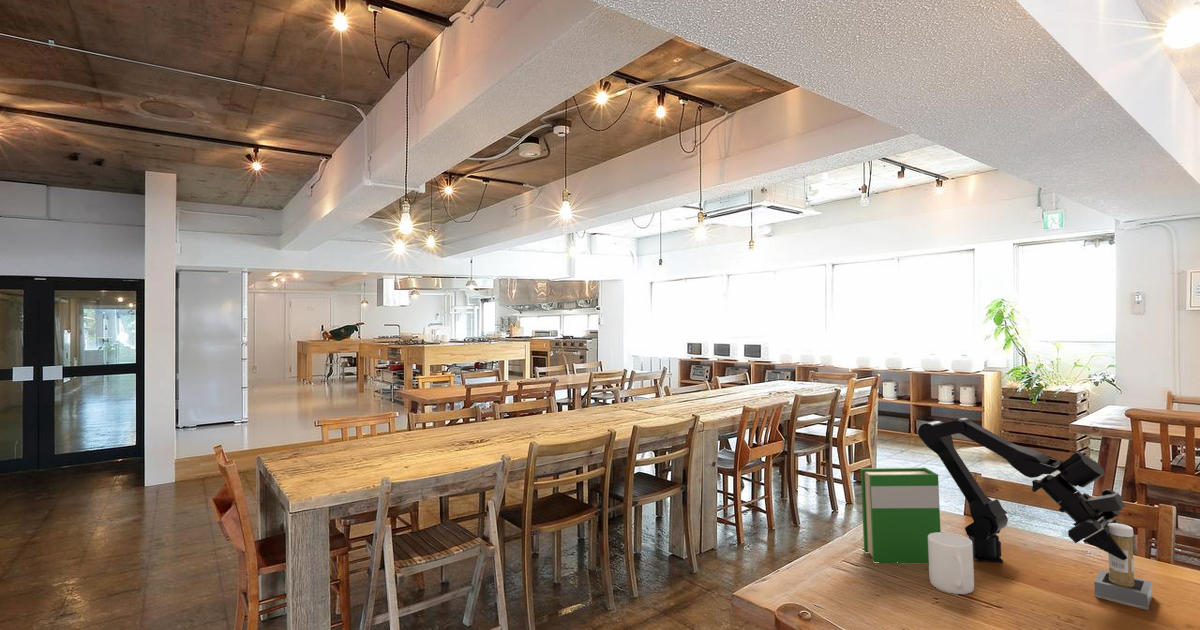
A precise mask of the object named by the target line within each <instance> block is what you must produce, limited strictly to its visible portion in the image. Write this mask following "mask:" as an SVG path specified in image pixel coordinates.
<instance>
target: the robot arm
mask: <svg viewBox="0 0 1200 630" xmlns="http://www.w3.org/2000/svg"><path fill="white" fill-rule="evenodd" d="M958 434H960V435H962V436H964V437H966V438H968V439H969V440H971V441H973V442H975V443H976V444H978V445H980V446H982V447H984V448H985V449H988V450H989V451H991V452H992V453H994V454H996V455H998V456H1000V457H1001V458H1003V459H1005V460H1006V461H1007V462H1008V464H1009V465H1010V466H1011V467H1012V468H1013V469H1015V470H1016V471H1017V472H1019V473H1021V474H1022V475H1023V476H1024V477H1027V478H1031V479H1033V478H1038V477H1040V476H1042V475H1046V476H1044V477H1042V478H1041V479H1034V480H1031V485H1032V487H1031V488H1032V489H1031V491H1032V493H1036V492H1038V491H1039V490H1042V491H1044V493H1045V494H1047V495H1048V497H1049V498H1050V499H1051V500H1053V501H1054V502H1055V503H1056V504H1057V505H1058V507H1059V508H1058V510H1059V512H1061V513H1064V512H1065V513H1066V515H1068V516H1069V517H1070V518H1071V520H1073V521H1074V523H1073V526H1072V527H1071V528H1070V529H1068V532H1067V533H1068V534H1067V536H1068V538H1069V539H1070V540H1072V541H1073V543H1075V544H1076V543H1079V542H1081V541H1082V542H1083V543H1087V544H1088V545H1091V546H1093V547H1095V548H1098V549H1099V550H1102V551H1104V552H1105V553H1110V554H1112V555H1114V556H1116V557H1118V558H1120V559H1122V560H1125V559H1127V556H1126V555H1125V554H1124V552H1123V551H1122V550H1121V549H1120V547H1119V546H1118V545H1117V544H1116V543H1115V541H1114V540H1113V539H1112V538H1111V537H1110V535H1109V526H1107V524H1109V523H1118V524H1119V522H1120V521H1119V520H1120V519H1119V517H1118V516H1119V515H1122V512H1121V510H1123V508H1126V504H1125V503H1124V501H1123V495H1120V494H1119V492H1115V491H1114V489H1112V488H1108V489H1104V490H1102V491H1101V495H1098V496H1094V497H1091V495H1090V494H1089V493H1086V492H1084V493H1081V491H1079V490H1078V489H1077V488H1076V487H1077V486H1078V487H1080V488H1085V487H1087V486H1088V485H1090V484H1091V483H1093V482H1095V481H1097V480H1098V479H1100V478H1102V477H1103V476H1105V474H1106V473H1105V472H1106V471H1105V469H1104V468H1103V467H1102V466H1101V465H1100V464H1099V463H1098V461H1096V460H1093V459H1092V458H1091V457H1089V456H1087V455H1085V454H1083V453H1082V452H1081V451H1076V452H1075V453H1072V455H1071V456H1070V457H1069V458H1068V459H1066V460H1064V461H1063V460H1058V459H1054V458H1050V457H1049V456H1048V455H1047V454H1045V453H1043V452H1040V451H1038V450H1036V449H1032V448H1030V447H1026V446H1022V445H1018V444H1015V443H1013V442H1011V441H1009V440H1007V439H1005V438H1003V437H1001V436H1000V435H998V434H995V432H994V433H993V432H992V431H990V430H988V429H986V428H985V427H983V426H981V425H979V424H977V423H976V422H973V421H972V420H970V419H969V418H968V417H961V418H960V417H959V418H958V419H957V418H956V419H954V420H950V421H946V422H943V421H941V420H934V421H929V422H925V423H923V424H921V425H920V426H919V427H918V431H917V435H918V437H919V439H920V440H921V441H922V442H923V443H924V445H925V446H926V447H927V448H928V449H930V450H931V451H932V452H933V453H935V454H936V455H937V456H938V457H939V459H940V460H941V462H942V464H943V465H944V466H945V468H946V470H947V471H948V473H949V475H950V476H951V477H952V479H953V481H954V482H955V484H956V485H957V487H958V489H959V491H961V493H962V496H964V498H965V499H966V501H967V503H968V508H969V513H970V516H971V518H972V521H973V522H972V523H969V524H968V525H967V526H965V527H964V530H965V532H966V535H967V536H968V538H969V539H970V540H971V541H972V546H973V559H974V560H975V561H977V562H999V563H1000V562H1001V563H1002V562H1004V559H1003V558H1001V557H1002V543H1001V541H1000V538H999V537H1000V536H998V534H1000V532H1001V530H1002V529H1004V528H1005V527H1006V526H1007V525H1008V521H1009V519H1008V518H1009V517H1008V516H1007V514H1008V512H1007V510H1005V509H1004V507H1003V506H1002V504H1001V502H1000V500H999V498H998V499H997V498H996V499H991V498H990V497H988V496H987V495H986V494H985V492H984V490H982V488H981V487H980V485H979V483H978V482H977V480H976V478H974V475H973V474H972V473H971V471H970V470H969V468H968V467H967V465H966V463H964V461H963V459H962V457H960V454H959V453H958V452H957V450H956V448H955V445H954V440H953V437H952V436H953V435H958ZM1058 471H1059V473H1057V474H1056V475H1052V474H1054V473H1056V472H1058ZM1116 517H1117V518H1116ZM1113 518H1115V519H1114V520H1112V519H1113Z"/></svg>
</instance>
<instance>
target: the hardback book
mask: <svg viewBox="0 0 1200 630" xmlns="http://www.w3.org/2000/svg"><path fill="white" fill-rule="evenodd" d="M860 482H861V484H860V485H861V486H860V487H861V509H862V531H863V532H862V533H863V552H864V551H865V552H869V553H870V556H871V557H872V562H873V561H874V562H879V563H878V564H902V563H929V555H928V535H929V534H930V533H935V532H942V531H941V510H940V509H941V508H940V489H939V488H940V487H939V484H940V482H939V474H938V473H935V472H934V471H932V470H930V469H928V468H927V467H868V468H867V467H866V468H865V467H864V468H863V467H861V468H860ZM897 562H898V563H897Z"/></svg>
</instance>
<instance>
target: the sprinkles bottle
mask: <svg viewBox="0 0 1200 630" xmlns="http://www.w3.org/2000/svg"><path fill="white" fill-rule="evenodd" d="M1107 526H1109V535H1110V537H1111V538H1112V539H1113V540H1114V541H1115V543H1116V544H1117V545H1118V546H1119V547H1120V549H1121V550H1122V551H1123V552H1124V554H1125V555H1126V556H1127V559H1125V560H1122V559H1120V558H1118V557H1116V556H1114V555H1112V554H1110V553H1108V552H1107V553H1108V555H1107V556H1108V569H1109V575H1110V576H1109V580H1110V581H1111V582H1112V583H1114V584H1116V585H1120V586H1124V587H1133V586H1134V585H1135V583H1134V577H1135V573H1134V572H1135V563H1134V561H1135V560H1134V550H1133V549H1134V546H1133V545H1134V544H1133V539H1134V529H1133V527H1131V526H1129V525H1127V524H1123V523H1119V522H1118V523H1109V524H1107Z"/></svg>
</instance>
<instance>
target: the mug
mask: <svg viewBox="0 0 1200 630" xmlns="http://www.w3.org/2000/svg"><path fill="white" fill-rule="evenodd" d="M928 555H929V564H928V575H929V582H930V584H931V585H932V586H933V587H934V588H935V587H936V589H937V590H939V591H941V590H942V591H941V592H944V591H945V592H944V593H947V592H948V593H947V594H951V593H953V594H952V595H958V594H964V595H968V593H969V594H971V593H972V592H973V591H974V589H975V588H974V587H975V578H974V577H975V572H974V570H975V569H974V558H973V546H972V541H971V540H970V539H969V537H967V536H964V535H961V534H956V533H953V532H943V531H941V532H935V533H930V534H929V535H928Z"/></svg>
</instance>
